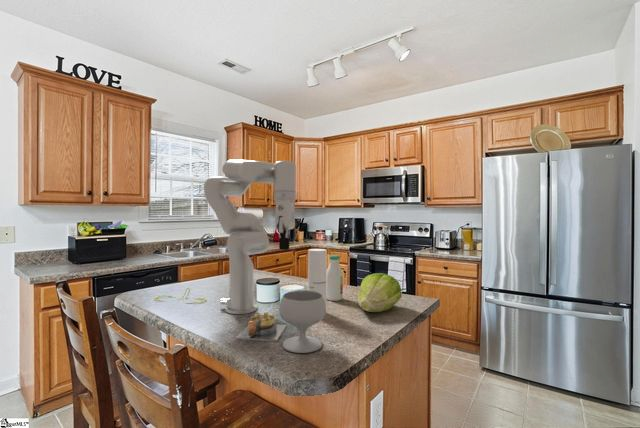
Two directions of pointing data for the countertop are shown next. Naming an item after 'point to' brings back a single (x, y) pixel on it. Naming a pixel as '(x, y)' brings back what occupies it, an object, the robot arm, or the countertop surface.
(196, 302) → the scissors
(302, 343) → the chalice
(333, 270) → the milk bottle
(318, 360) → the countertop surface
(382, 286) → the lettuce
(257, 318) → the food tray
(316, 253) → the cylindrical container
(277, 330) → the cap plate
